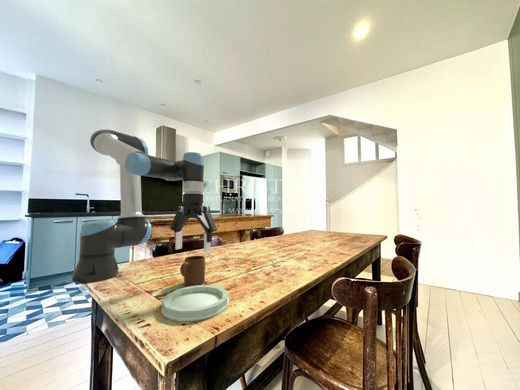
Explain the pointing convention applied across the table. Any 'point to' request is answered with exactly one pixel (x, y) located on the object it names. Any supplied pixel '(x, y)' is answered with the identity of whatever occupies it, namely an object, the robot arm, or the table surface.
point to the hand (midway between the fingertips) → (192, 250)
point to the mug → (193, 270)
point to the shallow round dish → (195, 303)
